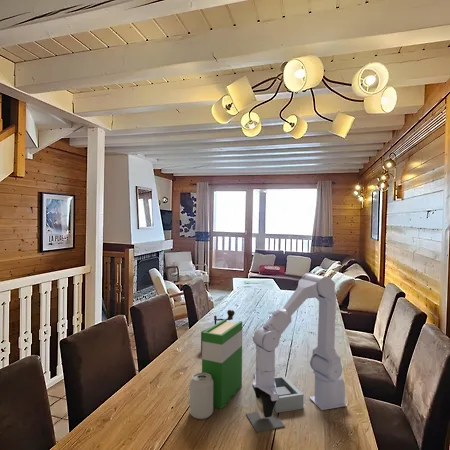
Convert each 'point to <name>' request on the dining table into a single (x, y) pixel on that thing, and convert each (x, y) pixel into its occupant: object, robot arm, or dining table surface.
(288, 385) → the slot box
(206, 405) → the can
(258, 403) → the block
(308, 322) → the dining table surface
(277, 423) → the mat
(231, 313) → the coffee grinder
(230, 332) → the hardback book
